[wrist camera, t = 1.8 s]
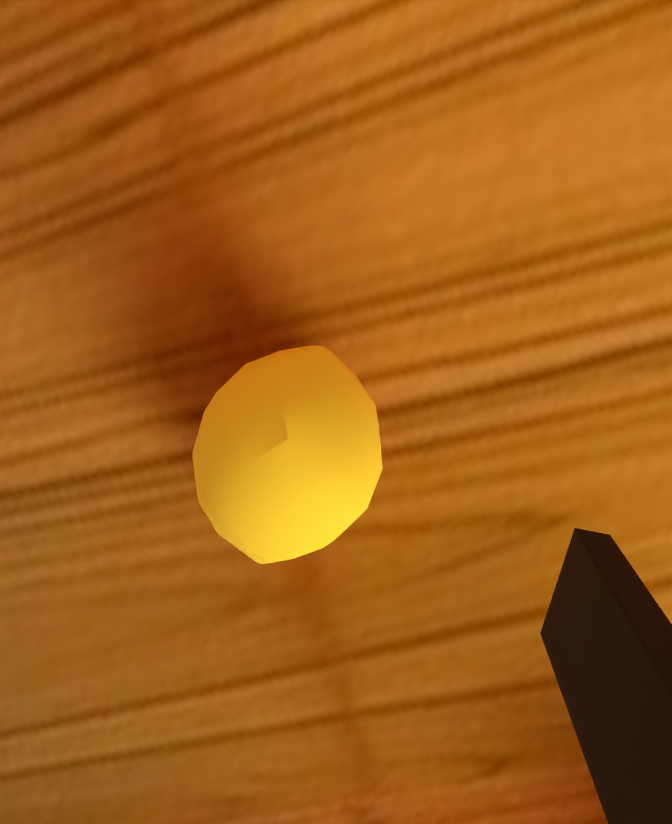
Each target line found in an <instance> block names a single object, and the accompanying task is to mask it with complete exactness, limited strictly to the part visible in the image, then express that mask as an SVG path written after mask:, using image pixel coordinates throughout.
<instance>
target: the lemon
mask: <svg viewBox="0 0 672 824" xmlns="http://www.w3.org/2000/svg"><path fill="white" fill-rule="evenodd" d="M192 456H193V465H194V473H195V481H196V490H197V498H198V500H199V503H200V505H201V507H202V510H203V511H204V512H205V513H206V515H207V516H208V518H209V519H210V521H211V523H212V525H213V527H214V528H215V530H216V532H217V533H218V534H219V535H220V536H222V537H223V538H224V539H226V540H227V541H228V542H230V543H231V544H232V545H234V546H235V547H237V548H238V549H239V550H241V551H242V552H243V553H245V554H246V555H248V556H249V557H250V558H252V559H253V560H254V561H256V562H257V563H260V564H266V563H272V562H278V561H284V560H289V559H294V558H296V557H299V556H302V555H305V554H307V553H310V552H313V551H316V550H319V549H321V548H324V547H325V546H327V545H328V544H330V543H331V542H333V541H334V540H335V539H336V538H337V537H338V536H339V535H340V534H341V533H342V532H343V531H345V530H346V529H347V528H348V527H349V526H350V525H351V524H352V523H353V522H354V521H355V520H356V519H357V518H358V517H359V516H360V515H361V514H362V513H363V512H364V511H365V510H366V509H367V508H368V505H369V503H370V500H371V497H372V495H373V492H374V490H375V487H376V484H377V482H378V479H379V477H380V474H381V471H382V469H383V466H382V455H381V444H380V433H379V424H378V418H377V412H376V406H375V404H374V403H373V401H372V400H371V398H370V396H369V395H368V393H367V392H366V390H365V389H364V387H363V386H362V384H361V383H360V381H359V379H358V378H357V376H356V375H355V374H354V373H353V372H352V371H351V370H350V369H349V368H348V367H347V366H346V365H345V364H344V363H343V362H342V361H341V360H340V359H339V358H338V357H337V356H336V355H335V354H334V353H333V352H331V351H330V350H328V349H327V348H326V347H324V346H304V347H298V348H293V349H287V350H281V351H278V352H275V353H273V354H270V355H267V356H265V357H262V358H260V359H257V360H255V361H252V362H250V363H247V364H245V365H244V366H243V367H242V368H241V369H240V370H239V371H237V372H236V373H235V374H234V375H233V376H232V377H231V378H230V379H229V380H228V381H227V382H226V383H225V384H224V385H223V386H222V387H221V388H220V389H219V390H218V391H217V392H216V393H215V395H214V397H213V398H212V400H211V401H210V403H209V405H208V406H207V408H206V410H205V411H204V414H203V417H202V421H201V424H200V428H199V432H198V435H197V439H196V442H195V446H194V449H193V453H192Z"/></svg>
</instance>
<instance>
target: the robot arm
mask: <svg viewBox="0 0 672 824" xmlns="http://www.w3.org/2000/svg"><path fill="white" fill-rule="evenodd" d="M541 636H542V639H543V642H544V645H545V647H546V650H547V653H548V656H549V659H550V662H551V664H552V667H553V670H554V673H555V676H556V678H557V681H558V684H559V687H560V690H561V692H562V695H563V698H564V701H565V704H566V706H567V709H568V712H569V715H570V718H571V720H572V723H573V726H574V729H575V732H576V734H577V737H578V740H579V743H580V746H581V748H582V751H583V754H584V757H585V760H586V762H587V765H588V768H589V771H590V774H591V776H592V779H593V782H594V785H595V788H596V790H597V793H598V796H599V799H600V802H601V805H602V807H603V810H604V813H605V816H606V819H607V821H608V824H672V624H671V623H670V622H669V620H668V619H667V617H666V616H665V614H664V613H663V611H662V610H661V608H660V607H659V606H658V604H657V603H656V601H655V600H654V598H653V597H652V595H651V594H650V592H649V591H648V590H647V588H646V587H645V585H644V584H643V582H642V581H641V579H640V578H639V576H638V575H637V574H636V572H635V571H634V569H633V568H632V566H631V565H630V563H629V562H628V560H627V559H626V558H625V556H624V555H623V553H622V552H621V550H620V549H619V547H618V546H617V544H616V543H615V542H614V540H613V539H612V537H611V536H610V535H608V534H603V533H597V532H592V531H587V530H582V529H577V528H575V529H574V532H573V535H572V538H571V541H570V544H569V547H568V550H567V553H566V557H565V560H564V563H563V566H562V569H561V572H560V575H559V578H558V581H557V584H556V587H555V590H554V593H553V596H552V599H551V603H550V606H549V609H548V612H547V615H546V618H545V621H544V624H543V627H542V630H541Z"/></svg>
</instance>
